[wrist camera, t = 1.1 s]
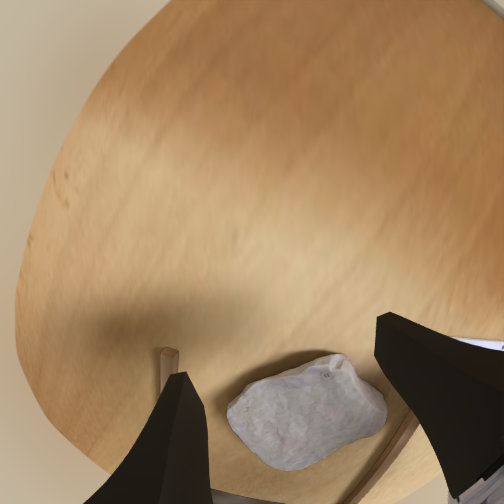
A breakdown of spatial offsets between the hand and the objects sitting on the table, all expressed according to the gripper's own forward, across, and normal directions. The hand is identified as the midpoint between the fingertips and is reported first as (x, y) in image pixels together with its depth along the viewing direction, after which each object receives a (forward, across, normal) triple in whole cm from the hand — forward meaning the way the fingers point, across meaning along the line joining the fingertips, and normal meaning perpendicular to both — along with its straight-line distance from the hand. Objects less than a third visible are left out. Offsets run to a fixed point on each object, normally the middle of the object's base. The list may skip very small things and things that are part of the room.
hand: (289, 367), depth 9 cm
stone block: (+8, -2, +13) cm, 16 cm away
